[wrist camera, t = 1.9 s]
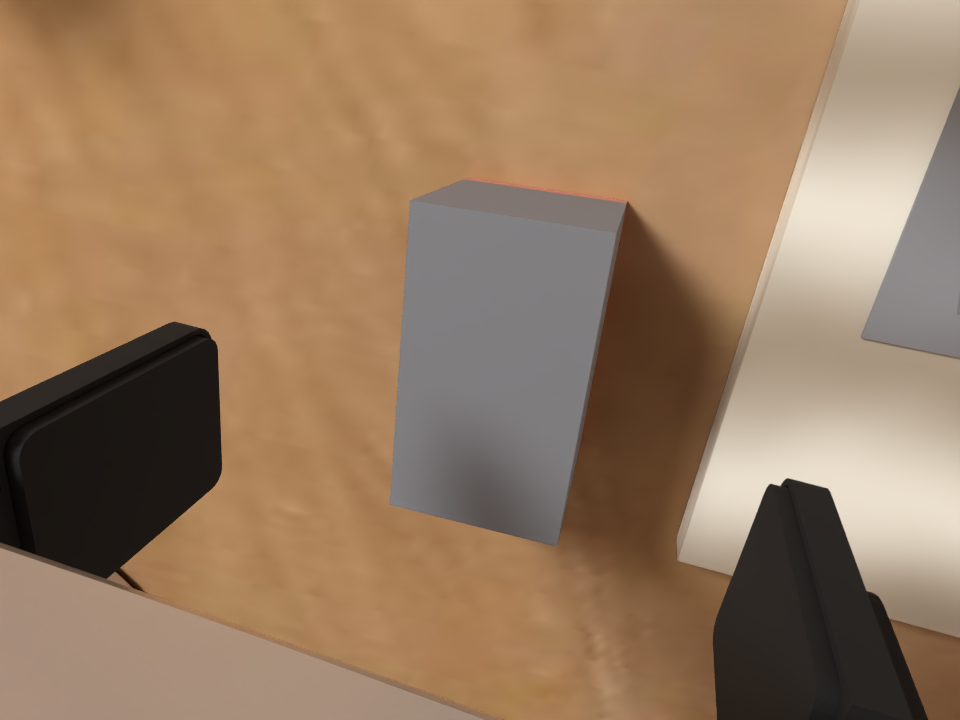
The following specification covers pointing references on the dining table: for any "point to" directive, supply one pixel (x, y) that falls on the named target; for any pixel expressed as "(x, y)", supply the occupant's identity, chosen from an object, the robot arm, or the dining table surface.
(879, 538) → the board
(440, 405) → the block
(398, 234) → the dining table surface
